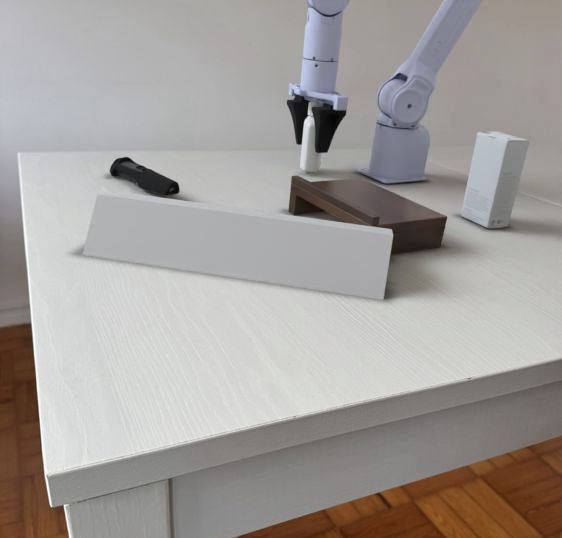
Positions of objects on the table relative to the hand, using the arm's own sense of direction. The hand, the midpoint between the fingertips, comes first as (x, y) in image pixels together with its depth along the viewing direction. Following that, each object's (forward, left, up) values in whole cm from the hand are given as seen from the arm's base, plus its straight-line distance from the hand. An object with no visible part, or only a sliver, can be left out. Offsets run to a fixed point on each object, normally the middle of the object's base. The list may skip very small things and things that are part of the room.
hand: (311, 148), depth 101 cm
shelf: (+9, +27, -4) cm, 29 cm away
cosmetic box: (-11, +30, -4) cm, 32 cm away
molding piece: (+28, +29, -5) cm, 41 cm away
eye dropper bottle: (0, 0, -4) cm, 4 cm away
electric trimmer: (+30, +2, -4) cm, 30 cm away
